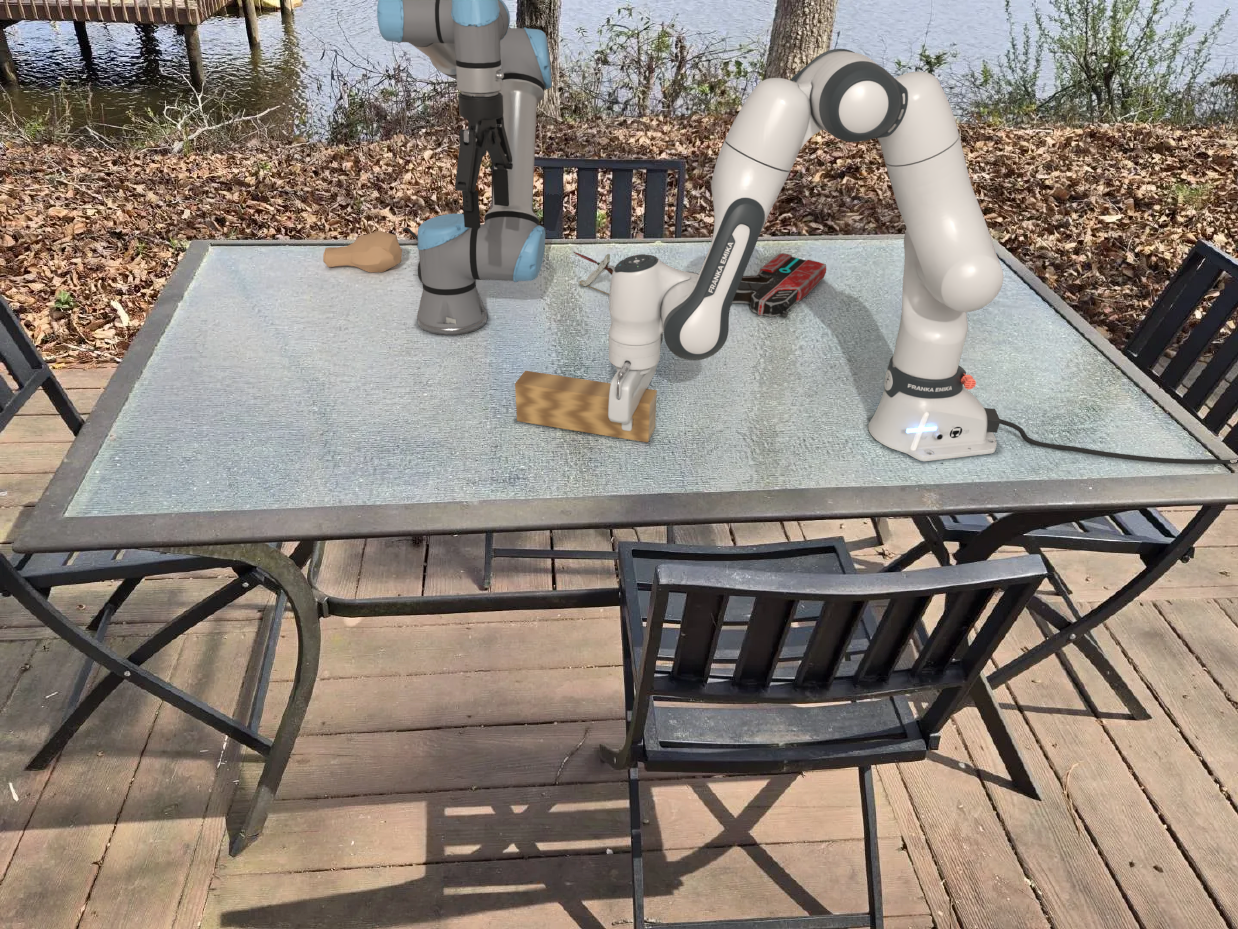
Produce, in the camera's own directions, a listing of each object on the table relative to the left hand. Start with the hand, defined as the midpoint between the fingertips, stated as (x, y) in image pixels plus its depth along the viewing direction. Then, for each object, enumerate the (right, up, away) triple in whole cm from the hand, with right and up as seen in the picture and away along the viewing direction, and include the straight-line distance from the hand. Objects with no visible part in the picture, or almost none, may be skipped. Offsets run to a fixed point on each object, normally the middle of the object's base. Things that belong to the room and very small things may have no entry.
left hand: (487, 215), depth 160 cm
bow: (+27, -8, +47) cm, 55 cm away
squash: (-41, +4, +62) cm, 74 cm away
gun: (+61, -3, +56) cm, 83 cm away
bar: (+18, -38, 0) cm, 42 cm away
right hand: (+26, -37, -3) cm, 46 cm away
